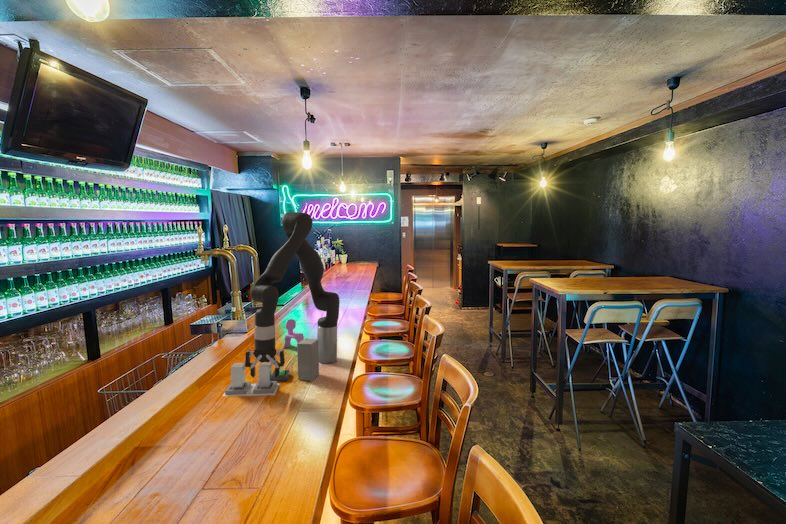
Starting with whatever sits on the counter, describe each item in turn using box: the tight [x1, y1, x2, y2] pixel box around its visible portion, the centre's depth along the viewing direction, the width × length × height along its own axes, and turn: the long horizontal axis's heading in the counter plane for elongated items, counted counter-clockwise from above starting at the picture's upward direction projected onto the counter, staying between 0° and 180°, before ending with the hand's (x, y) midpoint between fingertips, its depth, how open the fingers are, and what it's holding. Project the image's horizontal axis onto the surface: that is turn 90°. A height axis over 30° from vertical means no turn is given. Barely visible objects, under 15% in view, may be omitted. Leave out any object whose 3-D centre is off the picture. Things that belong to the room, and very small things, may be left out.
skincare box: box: [296, 337, 320, 382], centre depth 156 cm, size 8×7×16 cm
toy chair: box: [282, 318, 305, 352], centre depth 189 cm, size 8×9×15 cm
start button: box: [279, 368, 286, 375], centre depth 152 cm, size 4×4×3 cm
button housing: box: [272, 369, 291, 382], centre depth 152 cm, size 6×6×3 cm
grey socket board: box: [221, 380, 280, 397], centre depth 141 cm, size 19×10×2 cm, turn 97°
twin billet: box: [230, 362, 246, 389], centre depth 140 cm, size 4×4×10 cm
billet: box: [258, 362, 273, 389], centre depth 141 cm, size 4×4×10 cm
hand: (265, 376), depth 141 cm, fingers open, 8 cm apart
